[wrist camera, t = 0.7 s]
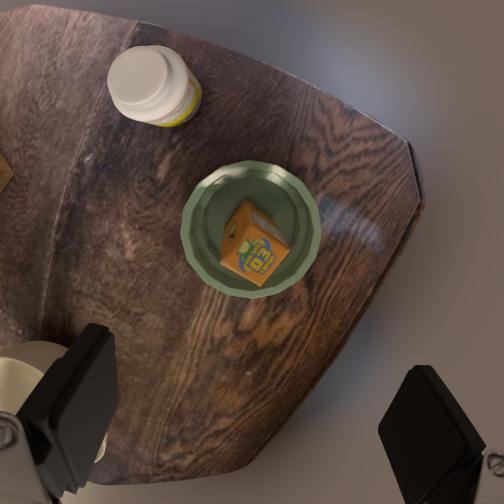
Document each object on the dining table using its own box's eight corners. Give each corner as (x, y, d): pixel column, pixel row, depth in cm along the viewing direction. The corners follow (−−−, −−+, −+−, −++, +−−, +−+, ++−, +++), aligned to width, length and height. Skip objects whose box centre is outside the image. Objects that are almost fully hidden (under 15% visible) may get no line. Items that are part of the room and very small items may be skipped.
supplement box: (254, 247, 30) (258, 292, 20) (224, 225, 29) (213, 261, 20) (277, 218, 29) (291, 251, 20) (246, 195, 28) (245, 217, 19)
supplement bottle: (141, 76, 25) (94, 46, 15) (200, 65, 25) (177, 25, 15) (146, 133, 27) (97, 126, 17) (206, 123, 27) (184, 108, 17)
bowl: (77, 421, 38) (53, 468, 28) (7, 338, 33) (-33, 377, 24) (154, 395, 36) (134, 456, 26) (71, 291, 31) (23, 336, 22)
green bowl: (167, 207, 29) (153, 217, 25) (266, 136, 27) (269, 133, 23) (236, 298, 32) (235, 320, 27) (332, 235, 30) (345, 249, 26)
